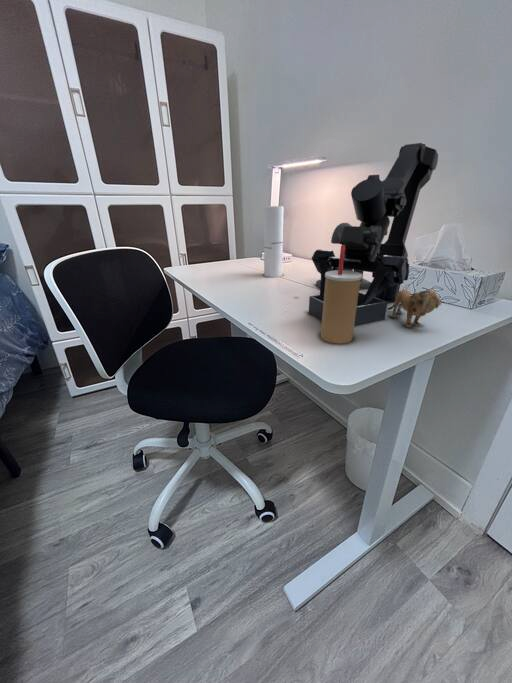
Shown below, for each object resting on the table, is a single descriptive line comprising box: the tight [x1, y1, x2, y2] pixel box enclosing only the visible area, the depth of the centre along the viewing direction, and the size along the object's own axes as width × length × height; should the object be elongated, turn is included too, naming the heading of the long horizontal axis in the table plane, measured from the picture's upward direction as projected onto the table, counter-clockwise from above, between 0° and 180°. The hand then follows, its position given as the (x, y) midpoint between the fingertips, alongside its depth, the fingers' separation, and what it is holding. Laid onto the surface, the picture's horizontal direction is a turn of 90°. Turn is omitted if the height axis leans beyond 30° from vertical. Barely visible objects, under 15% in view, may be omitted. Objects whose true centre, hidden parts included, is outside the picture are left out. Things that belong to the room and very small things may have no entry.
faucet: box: [315, 222, 372, 290], centre depth 98 cm, size 18×16×20 cm
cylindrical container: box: [263, 205, 285, 278], centre depth 111 cm, size 7×7×25 cm
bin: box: [308, 291, 389, 327], centre depth 73 cm, size 14×12×4 cm
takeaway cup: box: [320, 245, 362, 345], centre depth 58 cm, size 7×7×19 cm
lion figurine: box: [386, 289, 443, 328], centre depth 68 cm, size 15×5×9 cm, turn 13°
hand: (341, 300), depth 59 cm, fingers open, 9 cm apart
